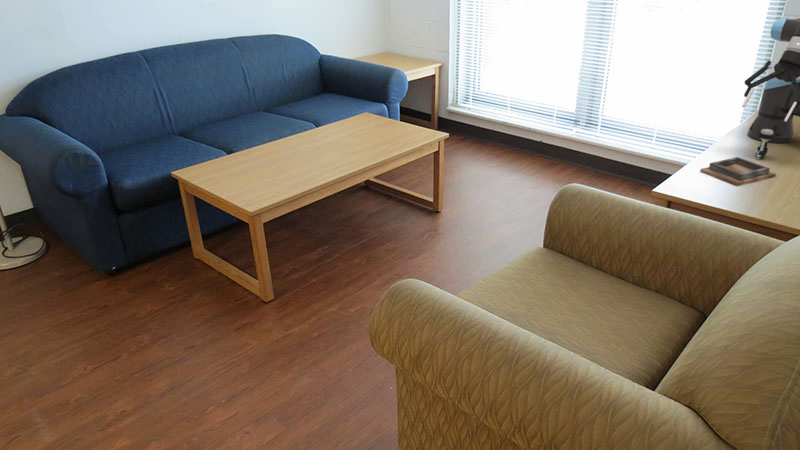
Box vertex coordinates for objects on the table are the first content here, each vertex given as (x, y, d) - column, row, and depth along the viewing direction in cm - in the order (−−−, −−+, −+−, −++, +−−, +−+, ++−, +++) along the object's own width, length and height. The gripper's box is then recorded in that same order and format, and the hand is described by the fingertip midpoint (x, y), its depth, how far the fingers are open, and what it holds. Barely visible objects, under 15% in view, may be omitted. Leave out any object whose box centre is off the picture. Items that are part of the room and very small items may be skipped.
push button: (765, 162, 206) (773, 134, 202) (748, 158, 210) (755, 131, 205) (770, 157, 211) (778, 130, 206) (754, 154, 214) (761, 127, 210)
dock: (737, 163, 206) (739, 154, 205) (775, 176, 195) (777, 167, 193) (700, 171, 200) (702, 163, 198) (736, 186, 188) (739, 177, 187)
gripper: (757, 39, 199) (725, 99, 205) (840, 62, 188) (804, 125, 193) (757, 44, 206) (727, 102, 211) (837, 67, 194) (803, 128, 199)
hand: (763, 113), depth 202 cm, fingers open, 13 cm apart
